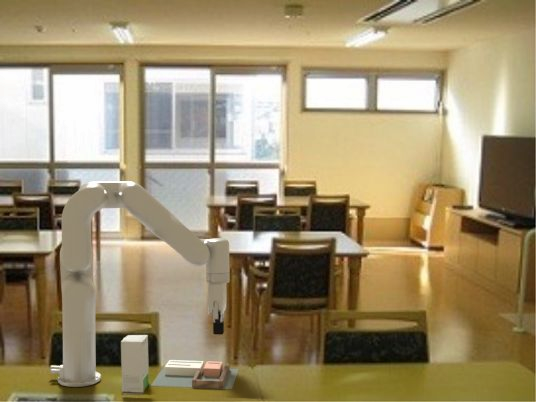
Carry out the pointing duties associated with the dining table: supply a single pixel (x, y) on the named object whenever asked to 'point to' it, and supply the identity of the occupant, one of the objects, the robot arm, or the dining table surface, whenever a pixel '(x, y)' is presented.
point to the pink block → (213, 369)
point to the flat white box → (183, 367)
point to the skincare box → (134, 364)
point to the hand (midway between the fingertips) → (218, 333)
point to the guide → (211, 383)
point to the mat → (187, 380)
